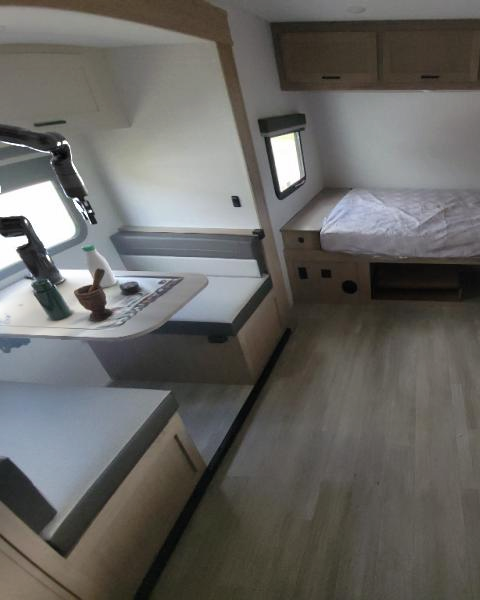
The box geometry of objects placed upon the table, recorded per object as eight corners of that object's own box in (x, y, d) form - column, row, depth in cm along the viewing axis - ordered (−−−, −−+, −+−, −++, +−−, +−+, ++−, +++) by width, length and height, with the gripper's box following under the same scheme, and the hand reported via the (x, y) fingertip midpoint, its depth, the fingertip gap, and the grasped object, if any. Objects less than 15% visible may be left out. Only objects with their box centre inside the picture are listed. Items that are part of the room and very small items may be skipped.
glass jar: (45, 318, 137) (22, 285, 128) (63, 309, 142) (43, 277, 134) (58, 321, 135) (36, 287, 127) (76, 312, 141) (56, 279, 133)
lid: (135, 286, 161) (132, 280, 159) (143, 289, 158) (140, 283, 156) (119, 292, 155) (116, 286, 154) (127, 296, 153) (124, 290, 151)
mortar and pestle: (111, 305, 146) (89, 264, 135) (126, 308, 144) (106, 267, 134) (84, 319, 137) (58, 277, 126) (100, 323, 135) (76, 280, 124)
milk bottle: (121, 281, 165) (102, 243, 154) (108, 288, 158) (88, 250, 147) (106, 279, 165) (87, 242, 155) (93, 287, 159) (72, 249, 148)
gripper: (89, 186, 138) (107, 223, 147) (78, 180, 145) (96, 216, 154) (66, 189, 133) (86, 228, 142) (56, 183, 139) (75, 220, 148)
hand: (91, 221), depth 148 cm, fingers open, 8 cm apart
